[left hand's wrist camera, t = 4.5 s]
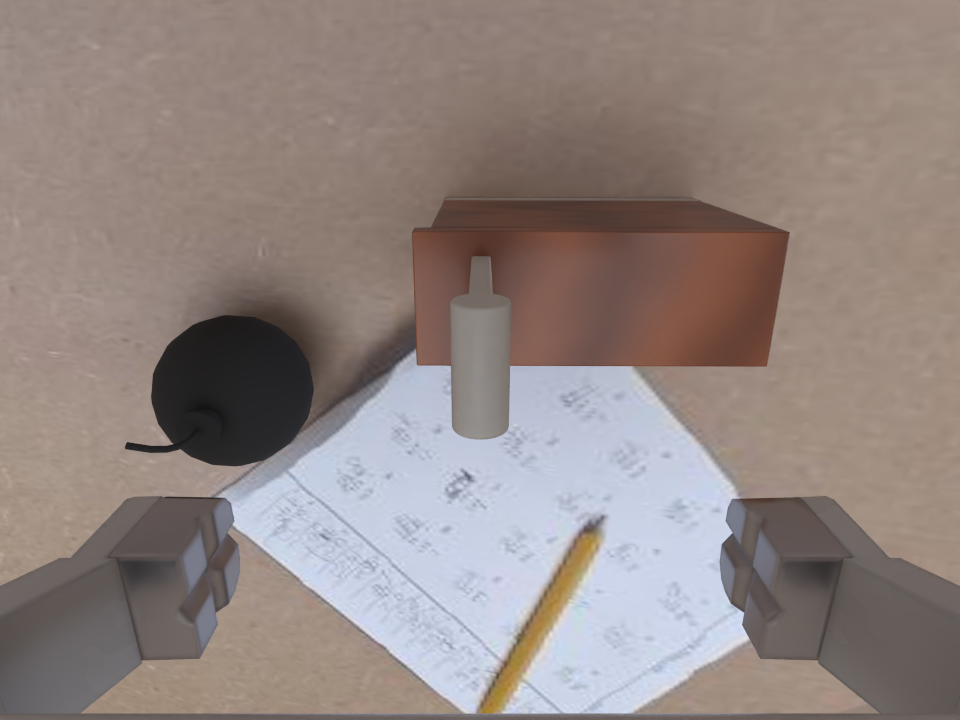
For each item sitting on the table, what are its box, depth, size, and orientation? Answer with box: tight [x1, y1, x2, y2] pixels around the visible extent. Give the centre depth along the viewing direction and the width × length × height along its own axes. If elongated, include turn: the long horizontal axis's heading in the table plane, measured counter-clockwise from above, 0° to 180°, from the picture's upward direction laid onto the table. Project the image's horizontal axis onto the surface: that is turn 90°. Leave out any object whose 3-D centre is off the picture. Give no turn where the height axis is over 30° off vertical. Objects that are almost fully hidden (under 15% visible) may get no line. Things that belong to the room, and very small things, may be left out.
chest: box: [431, 197, 778, 229], centre depth 30 cm, size 13×5×10 cm, turn 90°
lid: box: [412, 228, 790, 439], centre depth 21 cm, size 14×5×9 cm, turn 90°
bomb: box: [125, 315, 314, 466], centre depth 31 cm, size 8×8×12 cm
